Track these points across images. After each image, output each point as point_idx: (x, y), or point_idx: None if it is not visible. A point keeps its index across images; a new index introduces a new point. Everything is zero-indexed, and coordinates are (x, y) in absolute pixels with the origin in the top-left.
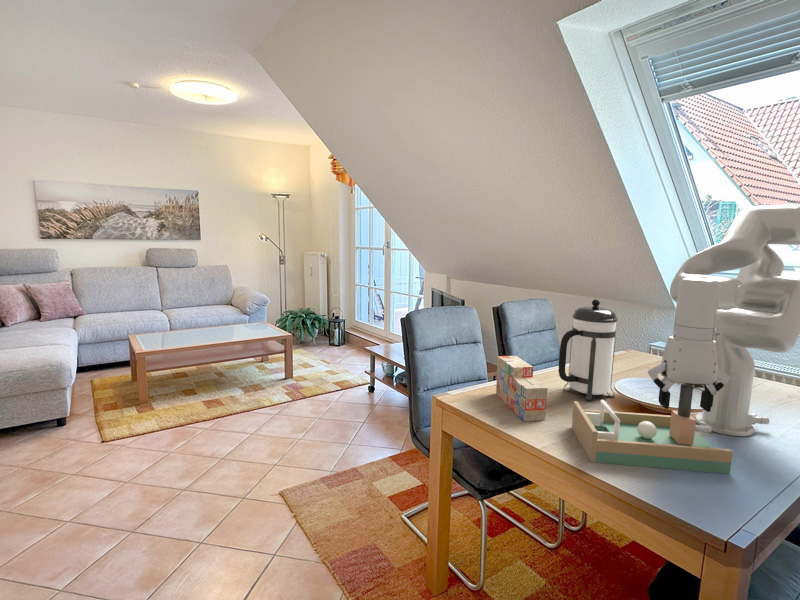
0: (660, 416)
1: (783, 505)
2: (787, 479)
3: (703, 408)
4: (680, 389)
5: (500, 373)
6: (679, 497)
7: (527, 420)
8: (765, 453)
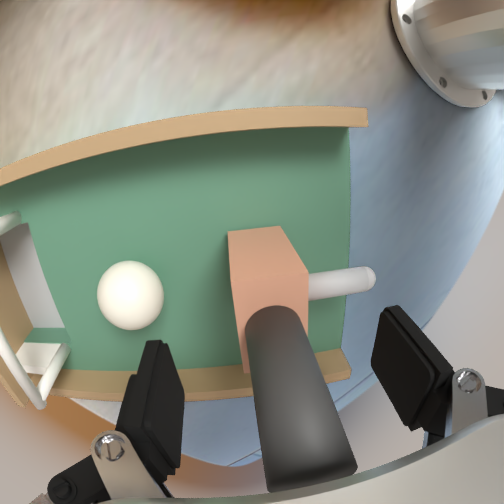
0: (217, 132)
1: (352, 400)
2: (427, 316)
3: (376, 342)
4: (262, 453)
5: None
6: (190, 427)
7: None
8: (467, 199)
